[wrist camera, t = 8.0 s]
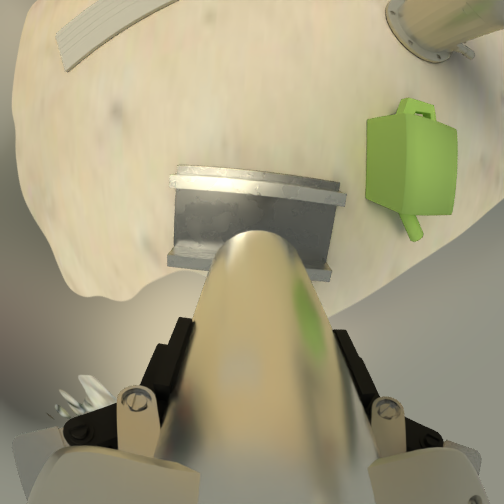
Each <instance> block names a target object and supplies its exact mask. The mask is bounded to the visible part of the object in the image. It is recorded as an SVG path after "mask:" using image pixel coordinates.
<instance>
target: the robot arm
mask: <svg viewBox="0 0 504 504" xmlns="http://www.w3.org/2000/svg"><path fill="white" fill-rule="evenodd" d="M386 17H387V21H388V23H389V26H390V28H391V29H392V31H393V33H394V34H395V35H396V37H397V38H398V39H399V41H400V42H401V43H402V44H403V45H404V46H405V47H406V48H407V49H408V50H410V51H411V52H412V53H414V54H415V55H416V56H418V57H420V58H422V59H424V60H426V61H429V62H433V63H439V62H442V61H445V60H447V59H448V58H449V57H450V55H451V53H452V51H456V52H460V53H462V54H463V55H464V56H466V57H467V58H469V59H473V58H474V56H475V53H474V51H472V50H471V49H469V48H468V47H467V46H464V45H463V44H462V43H466V42H467V41H469V40H472V39H475V38H477V37H480V36H483V35H486V34H489V33H492V32H495V31H499V30H502V29H504V0H391V1H390V2H389V3H388V4H387V6H386ZM192 326H193V322H192V319H190V318H182V317H179V318H178V321H177V323H176V326H175V328H174V331H173V333H172V335H171V338H170V340H169V343H168V345H166V344H160V343H159V344H158V345H157V346H156V349H155V351H154V353H153V355H152V358H151V360H150V362H149V365H148V367H147V369H146V372H145V374H144V376H143V379H142V381H141V384H140V385H133V386H128V387H126V388H124V389H123V390H121V391H120V393H119V394H118V397H117V403H115V404H112V405H109V406H107V407H104V408H101V409H98V410H95V411H92V412H89V413H87V414H83V415H80V416H78V417H74V418H72V419H70V420H69V421H68V422H66V424H65V425H64V427H63V428H58V426H56V427H52V428H48V429H43V430H38V431H33V432H28V433H22V434H19V435H17V436H16V437H15V438H14V440H13V442H12V449H13V453H14V458H15V462H16V466H17V469H18V473H19V477H20V480H21V483H22V487H23V490H24V493H25V496H26V499H27V504H198V496H199V485H200V474H201V473H198V472H196V471H195V470H192V469H190V468H188V467H186V466H184V465H181V464H179V463H177V462H171V461H166V460H161V459H156V458H153V456H154V453H155V449H156V445H157V441H158V438H159V434H160V430H161V428H160V420H161V417H162V413H163V410H164V407H165V403H166V400H167V398H168V396H169V395H170V393H171V390H172V388H173V386H174V383H175V381H176V377H177V374H178V371H179V367H180V364H181V361H182V358H183V354H184V351H185V348H186V345H187V341H188V338H189V335H190V332H191V329H192ZM333 332H334V334H335V337H336V339H337V341H338V344H339V346H340V349H341V351H342V353H343V356H344V358H345V361H346V363H347V366H348V368H349V370H350V373H351V375H352V378H353V380H354V383H355V386H356V388H357V391H358V393H359V396H360V398H361V401H362V404H363V406H364V409H365V412H366V414H367V417H368V420H369V422H370V425H371V428H372V430H373V433H374V436H375V439H376V442H377V444H378V447H379V450H380V453H381V456H382V458H380V459H376V460H375V461H374V462H373V463H372V464H371V465H370V466H369V467H368V468H367V470H368V474H369V478H370V482H371V486H372V490H373V494H374V499H375V503H376V504H490V502H489V500H488V497H487V495H486V492H485V489H484V487H483V485H482V483H481V480H480V478H479V471H480V466H481V455H480V453H479V452H478V451H476V450H475V449H472V448H469V447H466V446H463V445H460V444H457V443H454V442H451V441H448V440H446V441H445V442H443V439H442V437H441V435H440V434H439V433H438V432H436V431H434V430H432V429H430V428H428V427H425V426H423V425H421V424H419V423H417V422H415V421H413V420H410V419H408V418H406V417H405V416H404V409H403V406H402V405H401V403H400V402H399V401H397V400H396V399H394V398H391V397H380V396H379V394H378V392H377V390H376V387H375V385H374V383H373V381H372V379H371V377H370V374H369V372H368V370H367V368H366V366H365V364H364V362H363V360H362V358H360V357H359V356H358V353H357V352H356V349H355V347H354V345H353V343H352V341H351V339H350V337H349V335H348V333H347V331H346V330H333Z"/></svg>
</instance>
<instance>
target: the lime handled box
mask: <svg viewBox="0 0 504 504" xmlns="http://www.w3.org/2000/svg"><path fill="white" fill-rule="evenodd" d="M415 113H417V114H423V117H421V116H417V115H415ZM457 152H458V150H457V131H456V129H455V128H452V127H450V126H447V125H445V124H442V123H440V122H437V121H436V115H435V109H434V105H431V104H428V103H425V102H422V101H418V100H415V99H411V98H405V99H401V101H400V104H399V107H398V109H397V112H396V114H394V115H388V116H382V117H377V118H372V119H368V120H367V168H366V199H368V200H370V201H373V202H375V203H377V204H379V205H382V206H384V207H386V208H389V209H391V210H393V211H396V212H398V213H399V216H400V218H401V220H402V222H403V224H404V227H405V229H406V231H407V233H408V236H409V238H410V240H411V241H413V242H416V241H418V240H420V239H421V238H422V237H423V231H422V229H421V227H420V224H419V222H418V220H417V217H416V215H451V214H452V211H453V205H454V198H455V189H456V178H457Z"/></svg>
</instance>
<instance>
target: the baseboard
mask: <svg viewBox="0 0 504 504" xmlns="http://www.w3.org/2000/svg"><path fill="white" fill-rule="evenodd" d="M176 1H178V0H98V1H97V2H95V3H94V4H92V5H91V6H90V7H88V8H87V9H86V10H84V11H83V12H82V13H80V14H79V15H78V16H76V17H75V18H74V19H73V20H71V21H70V22H69V23H68V24H66V25H65V26H64V27H63V28H62V29H61V30H59V31H58V32H57V33H56V34H57V35H56V36H55V37H56V40H57V44H58V47H59V51H60V55H61V58H62V62H63V66H64V69H65V71H66V72H69V71H70V70H71V69H72V68H73V67H75V66H76V65H77V64H78V63H79V62H81V61H82V60H83V59H84V58H86V57H87V56H88V55H89V54H91V53H92V52H93V51H95V50H96V49H97V48H99V47H100V46H101V45H103V44H104V43H105V42H107V41H108V40H110V39H111V38H113V37H114V36H116V35H117V34H119V33H120V32H122V31H123V30H125V29H126V28H128V27H130V26H131V25H133V24H135V23H136V22H138V21H140V20H141V19H143V18H145V17H147V16H148V15H150V14H152V13H154V12H156V11H158V10H160V9H161V8H163V7H165V6H167V5H170V4H172V3H174V2H176Z"/></svg>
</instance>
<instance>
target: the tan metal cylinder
mask: <svg viewBox="0 0 504 504" xmlns="http://www.w3.org/2000/svg"><path fill="white" fill-rule="evenodd" d="M192 322H193V326H192V329H191V332H190V335H189V338H188V341H187V345H186V348H185V351H184V354H183V358H182V361H181V364H180V367H179V371H178V374H177V377H176V381H175V383H174V386H173V388H172V390H171V393H170V395H169V396H168V398H167V400H166V403H165V407H164V410H163V413H162V417H161V420H160V428H161V430H160V434H159V438H158V441H157V445H156V449H155V453H154V456H153V458H156V459H161V460H166V461H171V462H177V463H179V464H181V465H184V466H186V467H188V468H190V469H192V470H195V471H196V472H198V473H201V474H200V485H199V496H198V504H376V503H375V499H374V494H373V490H372V486H371V482H370V478H369V474H368V470H367V468H368V467H369V466H370V465H371V464H372V463H373V462H374V461H375V460H376V459H380V458H382V456H381V453H380V450H379V447H378V444H377V442H376V439H375V436H374V433H373V430H372V428H371V425H370V422H369V420H368V417H367V414H366V412H365V409H364V406H363V404H362V401H361V398H360V396H359V393H358V391H357V388H356V386H355V383H354V380H353V378H352V375H351V373H350V370H349V368H348V366H347V363H346V361H345V358H344V356H343V353H342V351H341V349H340V346H339V344H338V341H337V339H336V337H335V334H334V332H333V330H332V327H331V325H330V323H329V320H328V318H327V316H326V313H325V311H324V309H323V307H322V304H321V302H320V300H319V298H318V295H317V293H316V291H315V289H314V286H313V284H312V282H311V280H310V278H309V275H308V273H307V271H306V269H305V267H304V265H303V262H302V260H301V258H300V256H299V254H298V253H297V251H296V249H295V248H294V247H293V246H292V245H291V244H290V243H289V242H288V241H287V240H286V239H284V238H283V237H281V236H279V235H277V234H275V233H271V232H267V231H264V230H257V231H247V232H243V233H239V234H237V235H235V236H234V237H232V238H230V239H228V240H227V241H226V242H225V243H224V244H223V245H222V246H221V247H220V248H219V249H218V251H217V253H216V255H215V256H214V258H213V261H212V264H211V266H210V269H209V272H208V275H207V278H206V281H205V283H204V287H203V289H202V292H201V295H200V298H199V301H198V304H197V306H196V309H195V313H194V315H193V318H192Z"/></svg>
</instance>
